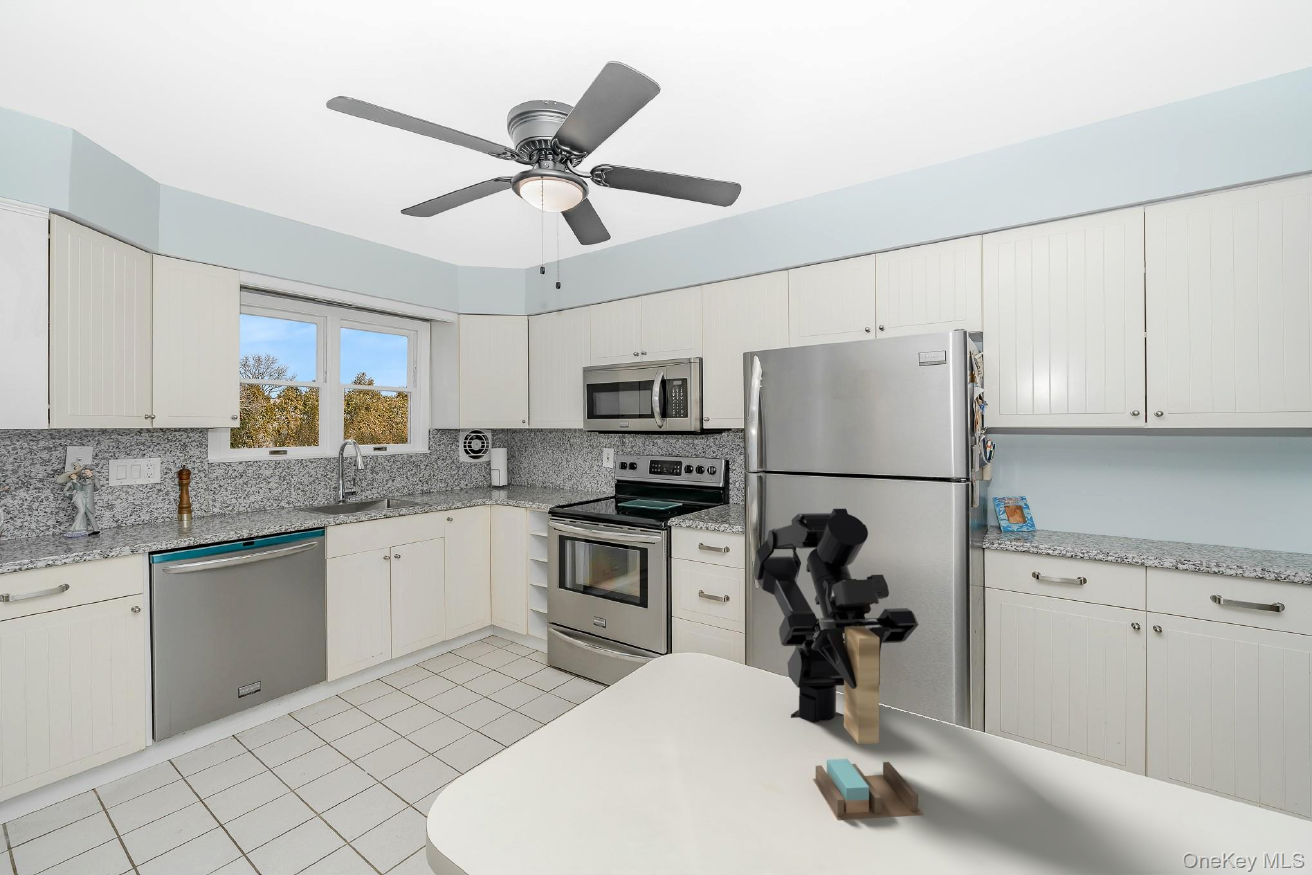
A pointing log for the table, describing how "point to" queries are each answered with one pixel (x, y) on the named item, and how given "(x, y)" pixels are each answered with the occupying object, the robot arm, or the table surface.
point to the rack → (873, 795)
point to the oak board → (862, 685)
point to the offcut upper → (847, 780)
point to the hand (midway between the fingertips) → (865, 687)
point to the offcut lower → (854, 804)
